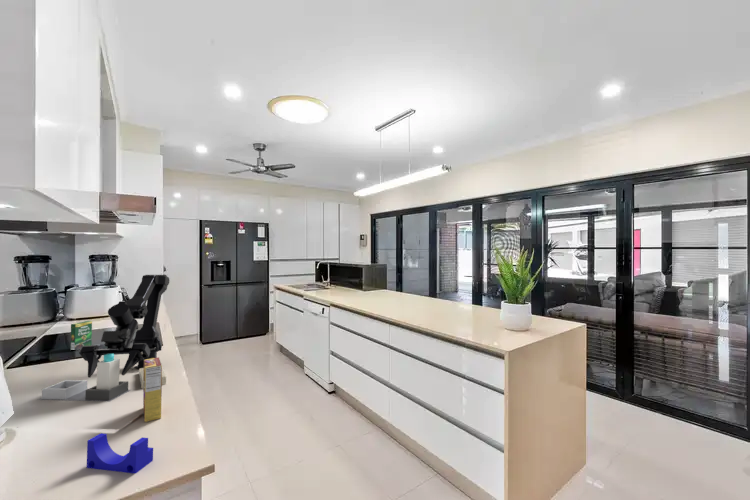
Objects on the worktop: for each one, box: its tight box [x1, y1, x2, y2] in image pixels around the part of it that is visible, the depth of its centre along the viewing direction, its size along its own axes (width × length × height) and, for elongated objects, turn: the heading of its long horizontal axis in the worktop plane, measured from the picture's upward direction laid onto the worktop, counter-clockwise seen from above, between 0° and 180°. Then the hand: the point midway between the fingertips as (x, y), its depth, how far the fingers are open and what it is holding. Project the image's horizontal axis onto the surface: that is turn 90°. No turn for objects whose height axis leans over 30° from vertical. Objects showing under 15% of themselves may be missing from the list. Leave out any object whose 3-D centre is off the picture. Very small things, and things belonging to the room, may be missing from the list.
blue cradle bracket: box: [86, 433, 154, 474], centre depth 72 cm, size 12×4×6 cm, turn 82°
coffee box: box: [69, 320, 93, 351], centre depth 159 cm, size 8×3×13 cm, turn 169°
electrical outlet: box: [138, 367, 167, 389], centre depth 120 cm, size 7×4×18 cm
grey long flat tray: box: [36, 379, 132, 403], centre depth 105 cm, size 9×23×4 cm, turn 89°
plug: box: [95, 353, 121, 390], centre depth 106 cm, size 4×4×13 cm
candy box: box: [142, 357, 163, 423], centre depth 95 cm, size 9×4×15 cm, turn 37°
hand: (106, 375), depth 104 cm, fingers open, 9 cm apart
